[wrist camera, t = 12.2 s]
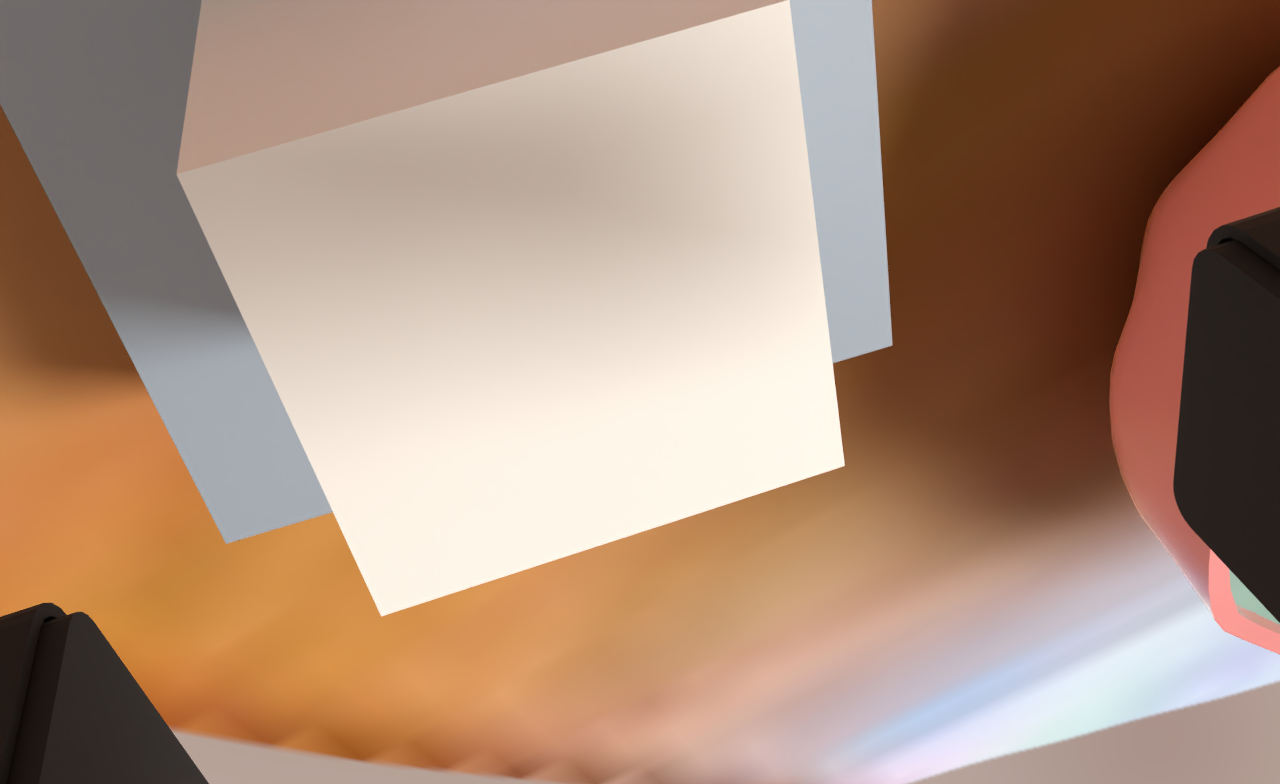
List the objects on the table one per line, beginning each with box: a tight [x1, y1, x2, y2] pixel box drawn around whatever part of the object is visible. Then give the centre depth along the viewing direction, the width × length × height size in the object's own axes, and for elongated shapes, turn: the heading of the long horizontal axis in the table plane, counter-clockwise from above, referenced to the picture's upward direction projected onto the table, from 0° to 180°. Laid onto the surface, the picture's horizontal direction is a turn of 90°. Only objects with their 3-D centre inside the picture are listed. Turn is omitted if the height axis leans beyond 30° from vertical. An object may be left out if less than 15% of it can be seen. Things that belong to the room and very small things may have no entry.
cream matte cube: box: [177, 0, 845, 616], centre depth 16 cm, size 6×6×7 cm
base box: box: [0, 0, 892, 544], centre depth 21 cm, size 13×13×6 cm
